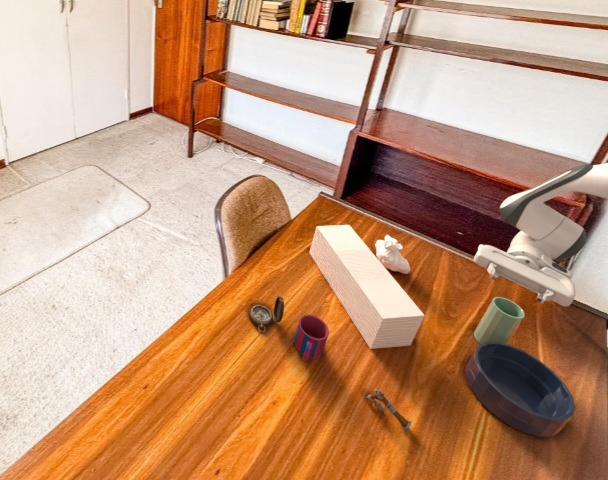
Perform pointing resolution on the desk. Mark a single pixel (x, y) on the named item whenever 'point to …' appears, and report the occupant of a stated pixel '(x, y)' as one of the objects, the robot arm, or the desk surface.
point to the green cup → (499, 321)
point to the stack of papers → (365, 288)
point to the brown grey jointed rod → (390, 407)
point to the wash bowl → (519, 389)
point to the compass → (267, 314)
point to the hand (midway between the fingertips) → (516, 288)
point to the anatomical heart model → (391, 255)
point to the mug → (310, 337)
